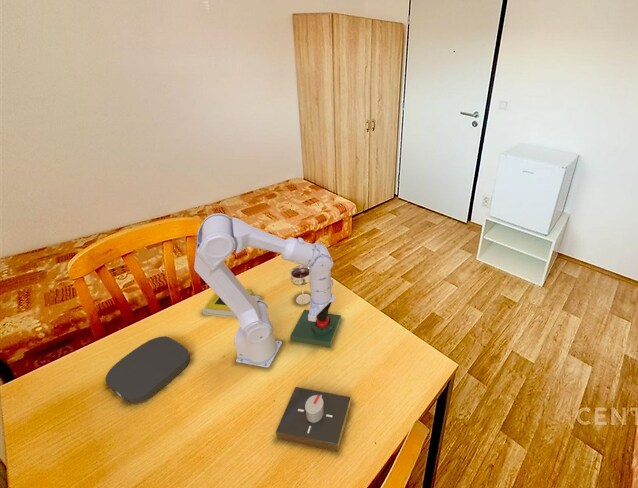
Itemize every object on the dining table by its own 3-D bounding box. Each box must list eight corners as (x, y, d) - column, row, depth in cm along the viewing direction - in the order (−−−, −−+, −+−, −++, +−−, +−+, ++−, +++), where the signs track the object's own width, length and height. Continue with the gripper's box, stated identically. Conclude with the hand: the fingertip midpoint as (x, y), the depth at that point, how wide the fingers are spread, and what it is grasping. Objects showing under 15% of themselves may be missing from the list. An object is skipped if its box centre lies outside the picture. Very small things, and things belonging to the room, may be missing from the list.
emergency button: (216, 282, 105) (260, 287, 105) (218, 292, 107) (261, 297, 107) (198, 303, 97) (246, 308, 97) (201, 314, 99) (248, 319, 98)
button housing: (290, 341, 93) (289, 331, 91) (304, 314, 102) (303, 305, 100) (330, 347, 91) (330, 338, 90) (340, 320, 100) (340, 311, 99)
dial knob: (318, 425, 71) (317, 415, 69) (302, 419, 72) (301, 409, 70) (327, 407, 74) (326, 397, 72) (312, 401, 75) (311, 391, 73)
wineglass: (318, 297, 108) (316, 270, 103) (302, 310, 103) (300, 281, 98) (304, 289, 111) (301, 261, 106) (288, 300, 106) (285, 272, 101)
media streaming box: (197, 359, 86) (194, 352, 84) (136, 411, 73) (133, 403, 72) (162, 337, 91) (160, 330, 89) (101, 382, 79) (97, 374, 77)
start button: (314, 327, 93) (314, 323, 93) (319, 317, 97) (319, 313, 96) (326, 329, 93) (326, 325, 92) (330, 319, 96) (330, 315, 96)
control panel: (277, 439, 70) (275, 431, 69) (296, 394, 79) (295, 386, 78) (337, 451, 69) (337, 443, 68) (350, 404, 78) (350, 396, 77)
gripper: (325, 306, 81) (327, 342, 87) (342, 269, 94) (342, 303, 100) (299, 302, 82) (302, 338, 88) (319, 266, 95) (321, 299, 101)
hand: (322, 319), depth 94 cm, fingers closed, pressing on start button
